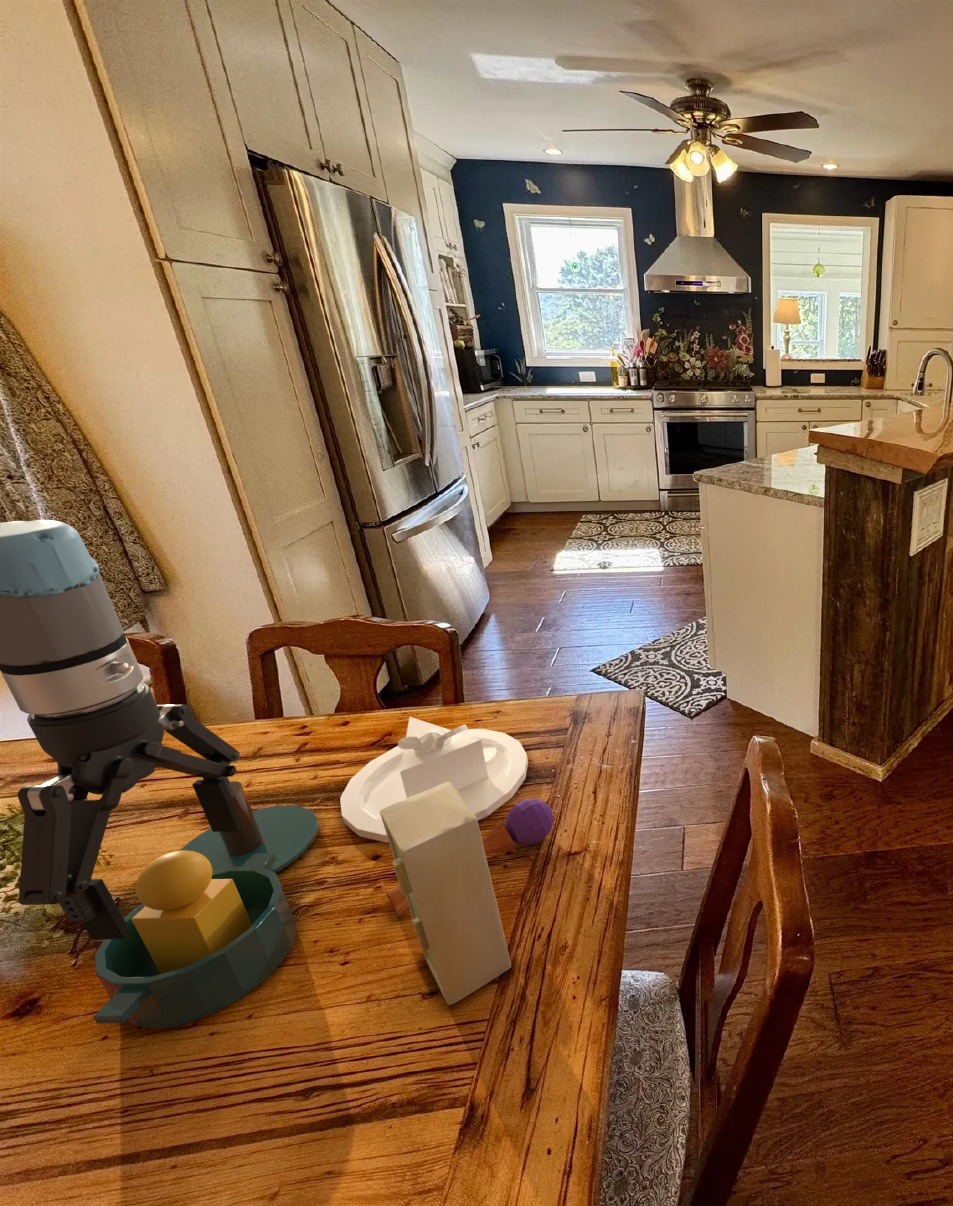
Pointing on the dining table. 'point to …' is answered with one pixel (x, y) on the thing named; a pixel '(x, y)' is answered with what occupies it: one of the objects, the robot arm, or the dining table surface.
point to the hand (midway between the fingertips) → (175, 877)
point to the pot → (209, 979)
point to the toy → (186, 910)
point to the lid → (258, 835)
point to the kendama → (503, 837)
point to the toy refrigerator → (447, 889)
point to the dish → (435, 773)
